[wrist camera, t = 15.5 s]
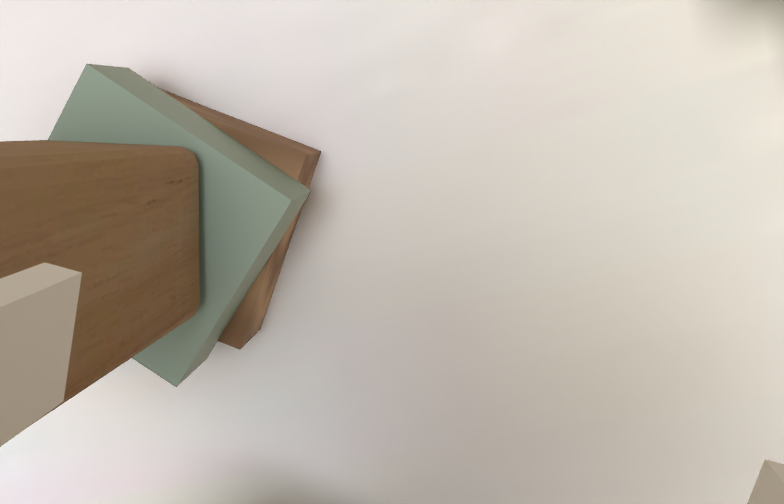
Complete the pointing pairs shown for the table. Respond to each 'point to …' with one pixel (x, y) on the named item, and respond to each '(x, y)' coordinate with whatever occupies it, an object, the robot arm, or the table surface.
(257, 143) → the tower base
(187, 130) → the tower top
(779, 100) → the table surface
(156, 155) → the block
